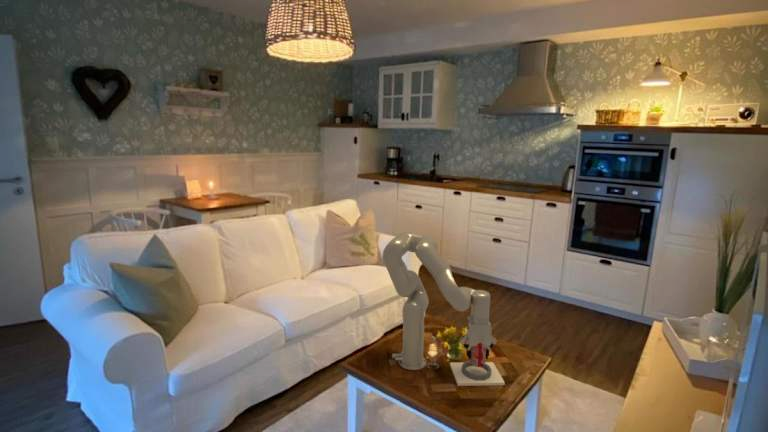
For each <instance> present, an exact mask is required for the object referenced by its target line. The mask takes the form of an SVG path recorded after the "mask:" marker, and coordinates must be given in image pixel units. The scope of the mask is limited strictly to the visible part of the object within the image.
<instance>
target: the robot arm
mask: <svg viewBox="0 0 768 432" xmlns="http://www.w3.org/2000/svg"><path fill="white" fill-rule="evenodd" d="M437 249H438V244H437V241H436V240H435V239H434V238H431V237H428V236H424V235H419V234H413V233H407V232H403V233H399V234H397V235H396V236H395V237H393V238H392V239H391V240H390V241H389V242H388V243H387V244H386V245H385V247H384V248H383V252H382V260H383V264H384V266H385V268H386V271H387V272H388V275H389V277H390V279H391V280H390V281H391V282H392V284H393V287H394V289H395V292H396V293H397V295H398V296H399V297H402V298H407V299H406V301H405V302H404V304H403V307H402V350H401V352H399V353H392V355H391V358H392V359H394V360H395V361H398V365H400V367H402V368H403V369H405V370H410V371H418V370H422V369H424V368H425V367H426V365H427V360H426V358H425V357H424V343H425V342H424V341H425V313H426V310H427V308H428V306H429V302H430V301H429V296H428V294H427V291H426V288H425V287H424V284H423V282H422V280H421V278H420V276H419V275H418V274H417V273H416V272H415V271H414V270H411V269H408V267H407V265H406V263H405V261H404V260H403V258H402V257H404V255H406V254H407V253H408V252H410V253H414V254H415V256H416V258H417V259H418V260H419V261H420V263H422V265H423V266H424V267H425V268H426V270H427V271H428V272H429V273H430V275H431V276H432V278H433V279H434V281H435V283H436V285H437V287H438V288H439V290H440V292H441V294H442V296H443V297H444V299H445V300H446V301H447V302H448V303H449V305H451V306H452V308H453V309H455V310H456V311H459V312H466V311H467V310H468V309H470V306H471V309H470V316H467V320H468V325H467V327H466V328H467V330H466V335H465V336H462V338H461V339H460V340H459V341H460V343H461V345H462V346H463V347H464V348H465V349H466V354H465V355H466V357H467V358H468V360H469V359H471V350H470V349H471V347H472V346H475V345H477V344H478V343H479V342H481V343H482V344H484V345H485V346H486V360H488V359H489V356H490V351H491V349H492V348H493V347H494V345H496V344H497V342H498V340H497V339H496V338H495V337H494V336H493V335H492V334H493V333H492V324H491V322H490V310H491V309H490V308H491V294H490V292H489V291H487V290H483V289H475V288H471V287H469V286H468V287H467V286H460V287H459V286H458V285H457V283H456V281H455V278H454V277H453V273H452V267H451V266H450V265H449V263H448V262H447V261H446V260H445V259H444V257H443V256H442V255H441V254H440V252H439V251H438V250H437ZM466 342H467V343H466Z"/></svg>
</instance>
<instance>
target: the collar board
mask: <svg viewBox="0 0 768 432" xmlns="http://www.w3.org/2000/svg"><path fill="white" fill-rule="evenodd" d="M449 366H450V370H451V372H452V374H453V378H454V380H455V382H456V384H457V386H458V387H460V386H461V387H463V386H469V387H470V386H472V387H474V386H476V387H477V386H479V387H480V386H482V387H483V386H505V381H504V378H503V376H502V375H501V373H500V372H499V370H498V369H497V367H496V365H495V363H494V362H493V361H485V365H484V366H482V367H474V366H473V365H471V364H470V363H469V360H467V361H463V362H449Z"/></svg>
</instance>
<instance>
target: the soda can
mask: <svg viewBox="0 0 768 432" xmlns="http://www.w3.org/2000/svg"><path fill="white" fill-rule="evenodd" d="M470 350H471V359H469V358H468V361H469V363H470V364H471V365H473V366H474V367H482V366H484V365H485V362H486V360H487V359H486V346H485V345H484V344H482V343H481V342H479V343H478V344H477V345H475V346H472V347H471V349H470Z"/></svg>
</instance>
